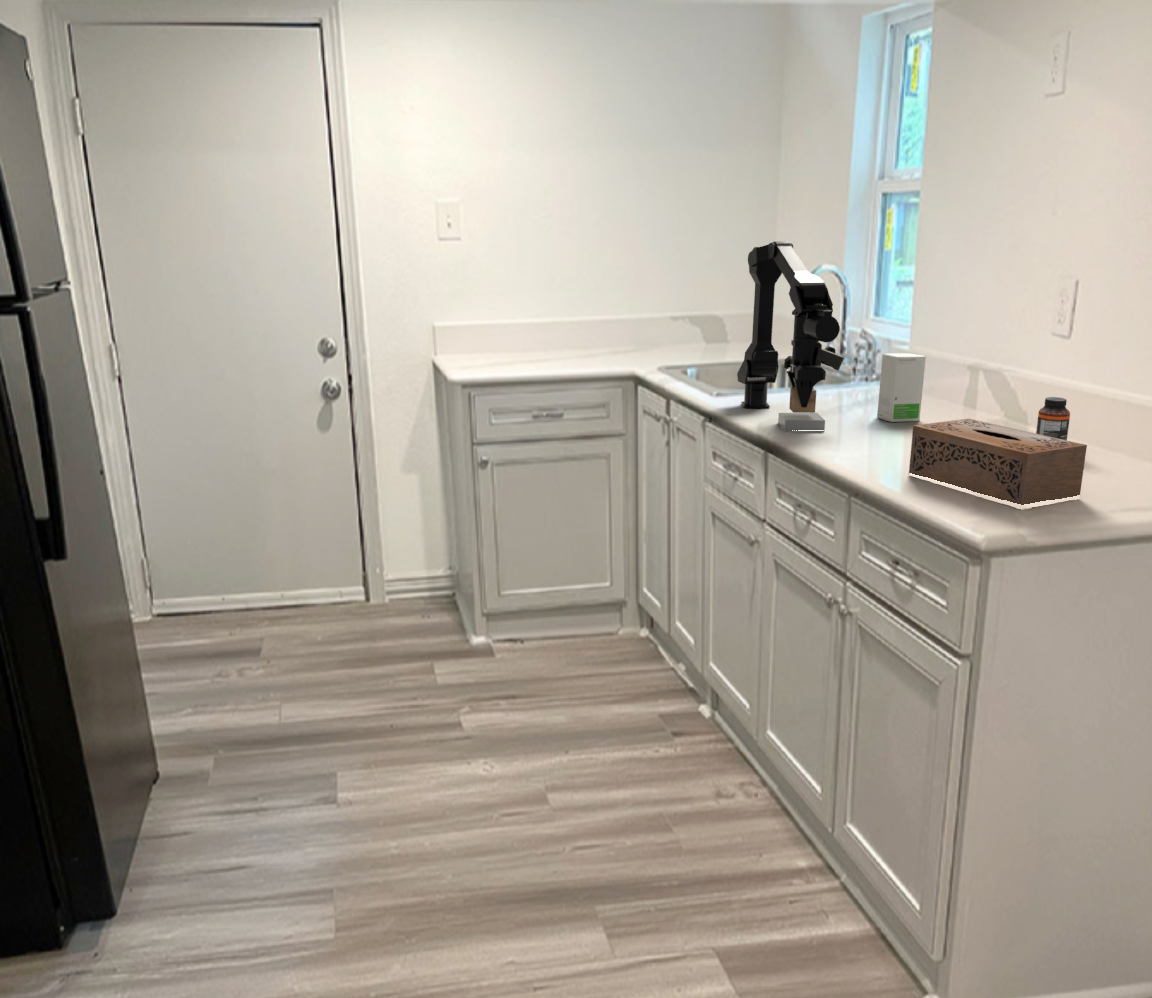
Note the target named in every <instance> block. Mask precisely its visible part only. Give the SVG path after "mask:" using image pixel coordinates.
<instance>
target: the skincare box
mask: <svg viewBox="0 0 1152 998" xmlns="http://www.w3.org/2000/svg"><path fill="white" fill-rule="evenodd" d="M926 358H927V356H925V355H921V354H914V353H882V354H881V368H880V370H881V372H880V382H879V394H878V402H877V412H876V413H877V415H876V418H878V419H880V420H883V421H887V422H890V423H895V422H897V423H898V422H900V423H901V422H919V421H920V419H921V410H922V409H921V408H922V399H923V387H924V377H925V369H926Z"/></svg>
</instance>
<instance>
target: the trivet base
mask: <svg viewBox="0 0 1152 998" xmlns="http://www.w3.org/2000/svg"><path fill="white" fill-rule="evenodd" d="M777 420H778V421H777V424H778V425H779V426H780V428H781V427H782V428H783V429H782V428H781V429H782V431H783V432H793V431H794V430H795V431H796V430H797V431H798V430H824V431H825V429H826V419H825V418H823V417H822V416H821V415H820V414H819V413H818V412H815V413H797V412H778V419H777ZM792 430H793V431H792Z"/></svg>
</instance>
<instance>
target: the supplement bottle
mask: <svg viewBox="0 0 1152 998" xmlns="http://www.w3.org/2000/svg"><path fill="white" fill-rule="evenodd" d="M1067 402H1068V401H1067V399H1066V398H1065V397H1057V396H1056V397H1055V396H1048V397H1045V400H1044V406H1043V407H1041V408H1040V409H1039V410H1038V413H1037V422H1036V431H1035V432H1036V434H1040V435H1045V436H1049V437H1054V438H1058V439H1063V440H1067V441H1068V434H1069V426H1070V417H1071V412H1070V410H1069V409H1068V408H1067V407H1066V406H1067Z"/></svg>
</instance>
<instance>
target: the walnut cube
mask: <svg viewBox="0 0 1152 998" xmlns="http://www.w3.org/2000/svg"><path fill="white" fill-rule="evenodd" d="M789 389H790V391H789V392H790V393H789V395H790V396H789V410H790V411H791V413H816V405H817V404H816V403H817V390H816V389H815V388H814V387H813V389H812V392H811V395H810V398H809V402H808V405H807V407H802V406H801V403H800V400H799V396H798V393H797V390H796V387H792V386H791V387H790V388H789Z"/></svg>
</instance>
